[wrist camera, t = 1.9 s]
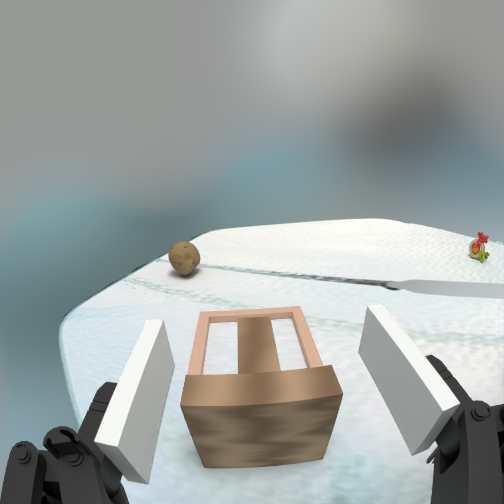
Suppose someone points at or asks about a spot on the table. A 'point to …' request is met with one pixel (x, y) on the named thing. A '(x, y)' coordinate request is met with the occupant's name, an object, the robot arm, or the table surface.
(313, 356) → the dock
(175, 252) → the brown round lump
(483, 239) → the bird rattle
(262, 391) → the tee block
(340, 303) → the table surface
